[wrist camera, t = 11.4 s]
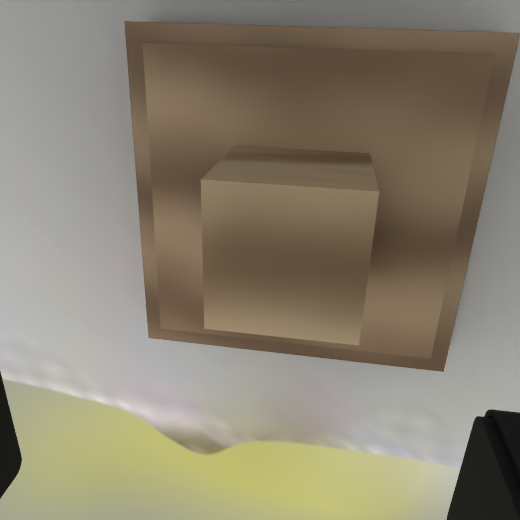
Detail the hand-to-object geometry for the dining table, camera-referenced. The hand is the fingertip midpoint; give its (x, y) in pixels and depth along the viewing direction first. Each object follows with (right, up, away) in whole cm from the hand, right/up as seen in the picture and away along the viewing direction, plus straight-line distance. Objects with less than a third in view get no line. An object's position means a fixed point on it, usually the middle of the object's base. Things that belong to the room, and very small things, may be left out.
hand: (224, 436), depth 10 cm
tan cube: (+2, +6, +13) cm, 15 cm away
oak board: (+3, +7, +16) cm, 17 cm away
